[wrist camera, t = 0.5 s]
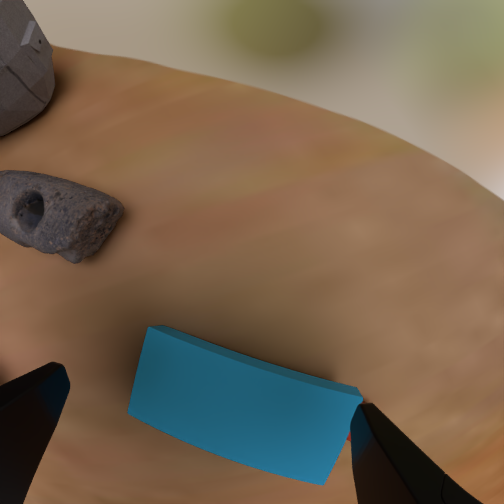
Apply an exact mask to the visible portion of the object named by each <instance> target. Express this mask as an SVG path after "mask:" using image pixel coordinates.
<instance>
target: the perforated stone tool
mask: <svg viewBox="0 0 504 504" xmlns="http://www.w3.org/2000/svg"><path fill="white" fill-rule="evenodd" d="M123 210H124V207H123V206H122V204H121V203H120V202H119V201H118V200H116V199H115V198H113V197H111V196H109V195H107V194H105V193H103V192H100V191H98V190H96V189H93V188H89V187H86V186H84V185H81V184H78V183H75V182H72V181H69V180H65V179H62V178H57V177H53V176H50V175H46V174H41V173H35V172H29V171H16V170H5V171H0V233H1V234H3V235H4V236H6V237H7V238H9V239H11V240H12V241H14V242H16V243H18V244H20V245H22V246H24V247H33V248H35V249H37V250H39V251H41V252H43V253H49V254H54V253H58V254H59V255H61V256H62V257H64V258H65V259H66V260H68V261H70V262H72V263H74V264H76V263H80V262H81V261H82V260H83V259H84V258H85V257H86V256H90V255H94V253H95V252H96V251H97V250H98V249H99V248H100V246H101V245H102V243H103V242H104V241H105V239H106V238H107V236H108V235H109V233H110V232H111V231H112V230H113V228H114V227H115V225H116V222H117V221H118V219H119V218H120V217H121V216H122V214H123Z"/></svg>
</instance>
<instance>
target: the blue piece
mask: <svg viewBox="0 0 504 504" xmlns="http://www.w3.org/2000/svg"><path fill="white" fill-rule="evenodd" d="M362 401H363V397H362V395H361V394H360V392H359V390H358V389H357V387H353V386H349V385H345V384H341V383H337V382H333V381H329V380H325V379H322V378H318V377H315V376H311V375H307V374H304V373H300V372H297V371H294V370H290V369H287V368H284V367H280V366H277V365H274V364H271V363H268V362H264V361H261V360H258V359H255V358H252V357H249V356H246V355H243V354H240V353H237V352H235V351H232V350H229V349H226V348H223V347H220V346H218V345H215V344H212V343H209V342H207V341H204V340H201V339H199V338H196V337H194V336H191V335H188V334H186V333H183V332H181V331H178V330H175V329H172V328H170V327H167V326H164V325H160V326H151V327H148V329H147V333H146V336H145V340H144V344H143V348H142V352H141V356H140V360H139V364H138V368H137V372H136V376H135V380H134V385H133V389H132V394H131V398H130V403H129V407H128V412H127V413H128V414H129V415H131V416H133V417H135V418H137V419H139V420H140V421H142V422H144V423H146V424H148V425H150V426H152V427H154V428H156V429H158V430H160V431H162V432H165V433H167V434H169V435H171V436H173V437H175V438H178V439H180V440H182V441H184V442H187V443H189V444H191V445H194V446H196V447H198V448H201V449H203V450H206V451H208V452H211V453H214V454H216V455H219V456H221V457H224V458H227V459H230V460H232V461H235V462H238V463H241V464H244V465H247V466H250V467H253V468H257V469H260V470H263V471H266V472H270V473H273V474H277V475H281V476H284V477H288V478H292V479H296V480H300V481H304V482H309V483H313V484H318V485H324V484H325V482H326V480H327V478H328V476H329V474H330V472H331V470H332V468H333V466H334V464H335V462H336V460H337V458H338V456H339V454H340V452H341V450H342V447H343V445H344V443H345V441H346V439H347V440H349V441H351V435H350V423H351V420H352V417H353V415H354V413H355V410H356V408H357V406H358V405H359V404H360V403H364V402H362Z"/></svg>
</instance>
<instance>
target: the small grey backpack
mask: <svg viewBox="0 0 504 504" xmlns="http://www.w3.org/2000/svg"><path fill="white" fill-rule="evenodd" d="M52 52H53V49H52V47H51V46H50V44H49V42H48V41H47V39H46V37H45V36H44V34H43V32H42V30H41V29H40V27H39V25H38V23H37V22H36V20H35V18H34V16H33V15H32V14H31V12H30V10H29V9H28V7H27V6H26V4H25V3H24V1H23V0H0V136H2V135H5V134H7V133H9V132H10V131H12V130H14V129H16V128H17V127H19V126H21V125H23V124H25V123H27V122H28V121H29V120H31V119H32V118H33V117H35V116H36V115H37V114H39V113H40V112H41V111H43V109H44V108H45V107H46V105H47V104H48V102H49V101H50V99H51V96H52V93H53V90H54V87H55V79H54V70H53V64H52V57H51V56H52Z"/></svg>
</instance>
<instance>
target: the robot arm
mask: <svg viewBox="0 0 504 504" xmlns="http://www.w3.org/2000/svg"><path fill="white" fill-rule="evenodd" d="M69 391H70V381H69V378H68V376H67V373H66V370H65V367H64V366H63V365H62V364H60V363H56V362H50V363H48V364H46V365H44V366H42V367H39V368H37V369H35V370H33V371H31V372H29V373H27V374H24V375H22V376H20V377H18V378H16V379H14V380H12V381H9V382H7V383H5V384H3V385H1V386H0V504H23V502H24V500H25V497H26V495H27V492H28V490H29V487H30V485H31V482H32V480H33V477H34V475H35V473H36V470H37V468H38V466H39V463H40V461H41V459H42V456H43V454H44V452H45V450H46V448H47V445H48V443H49V441H50V439H51V437H52V435H53V432H54V430H55V428H56V426H57V423H58V421H59V418H60V415H61V412H62V409H63V407H64V404H65V401H66V399H67V396H68V393H69ZM350 435H351V452H352V469H353V476H354V482H355V488H356V494H357V500H358V504H483V503H481V502H480V501H479V500H477V499H476V498H474V497H473V496H472V495H470V494H469V493H468V492H467V491H465V490H464V489H463V488H462V487H461V486H459V485H458V484H457V483H456V482H455V481H454V480H453V479H452V478H450V477H449V476H448V475H447V474H445V472H444V471H443V470H442V469H441V468H440V467H439V466H438V465H436V464H435V463H434V462H433V461H432V460H431V459H430V458H429V457H428V456H427V455H426V454H425V453H424V452H423V451H422V450H421V449H420V448H419V447H418V446H416V445H415V444H414V443H413V442H412V441H411V440H410V439H409V438H408V437H407V436H406V435H405V434H404V433H403V432H402V431H401V430H400V429H399V428H398V427H397V426H396V425H395V424H394V423H393V422H392V421H391V420H390V419H389V418H388V417H386V416H385V415H384V414H383V413H382V412H381V411H380V410H379V409H378V408H377V407H376V406H375V405H374V404H373V403H360V404H359V405H358V406H357V408H356V410H355V413H354V415H353V417H352V420H351V423H350Z"/></svg>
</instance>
